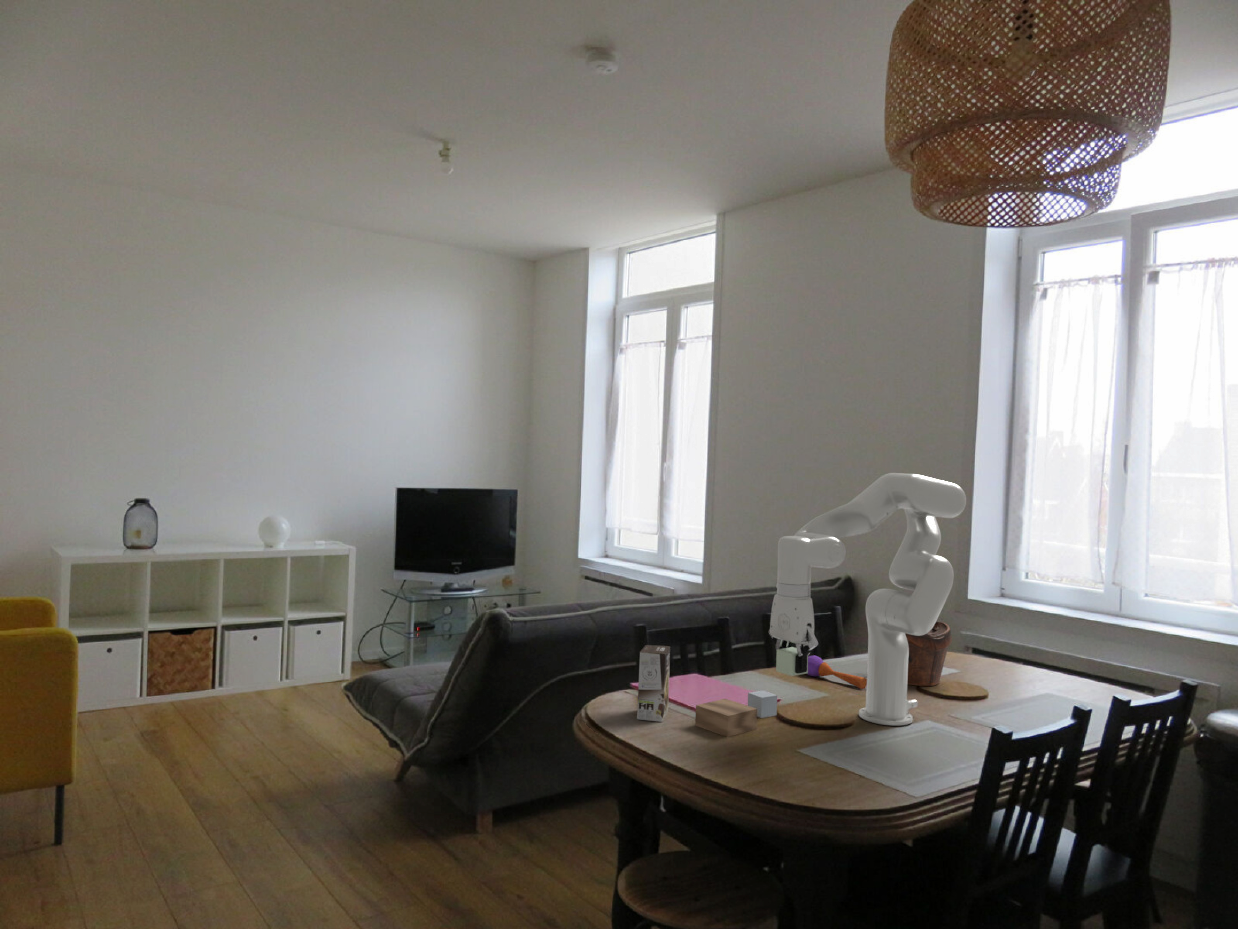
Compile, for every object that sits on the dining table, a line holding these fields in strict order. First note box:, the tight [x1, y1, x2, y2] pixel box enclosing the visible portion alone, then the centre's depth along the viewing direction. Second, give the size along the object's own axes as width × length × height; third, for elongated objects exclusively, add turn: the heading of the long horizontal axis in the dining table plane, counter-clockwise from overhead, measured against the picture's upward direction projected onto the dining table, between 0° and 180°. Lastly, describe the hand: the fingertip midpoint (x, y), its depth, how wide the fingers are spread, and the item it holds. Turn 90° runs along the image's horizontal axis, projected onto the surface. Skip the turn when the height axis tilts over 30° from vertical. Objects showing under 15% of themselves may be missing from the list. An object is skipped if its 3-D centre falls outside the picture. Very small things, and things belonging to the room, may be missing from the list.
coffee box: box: [636, 644, 671, 723], centre depth 213 cm, size 9×6×16 cm
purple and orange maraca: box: [806, 655, 867, 690], centre depth 253 cm, size 6×6×20 cm
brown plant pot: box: [905, 620, 953, 687], centre depth 256 cm, size 18×20×18 cm
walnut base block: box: [694, 698, 758, 738], centre depth 206 cm, size 10×10×5 cm
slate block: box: [747, 689, 778, 719], centre depth 218 cm, size 5×5×5 cm
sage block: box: [775, 646, 809, 677], centre depth 203 cm, size 5×5×5 cm
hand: (792, 668), depth 203 cm, fingers closed on sage block, 4 cm apart
